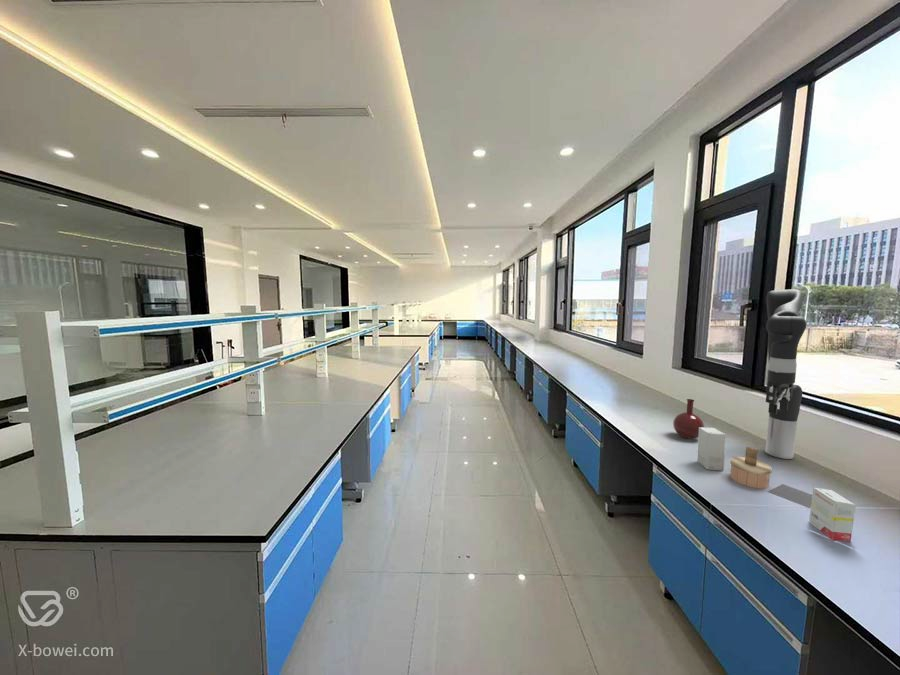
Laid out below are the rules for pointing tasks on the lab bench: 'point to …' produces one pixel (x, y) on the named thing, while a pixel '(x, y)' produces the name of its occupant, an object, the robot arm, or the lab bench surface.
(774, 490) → the mat
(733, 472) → the bowl
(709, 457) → the skincare box
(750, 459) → the lid
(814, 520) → the ink box
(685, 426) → the red vase
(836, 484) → the lab bench surface
